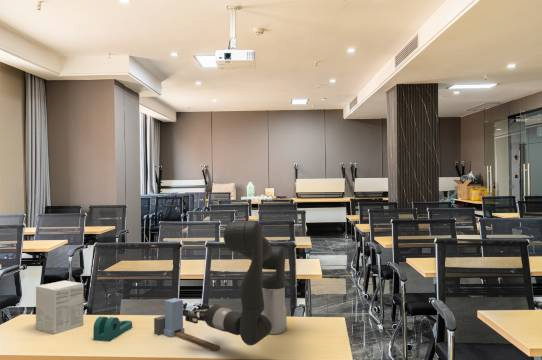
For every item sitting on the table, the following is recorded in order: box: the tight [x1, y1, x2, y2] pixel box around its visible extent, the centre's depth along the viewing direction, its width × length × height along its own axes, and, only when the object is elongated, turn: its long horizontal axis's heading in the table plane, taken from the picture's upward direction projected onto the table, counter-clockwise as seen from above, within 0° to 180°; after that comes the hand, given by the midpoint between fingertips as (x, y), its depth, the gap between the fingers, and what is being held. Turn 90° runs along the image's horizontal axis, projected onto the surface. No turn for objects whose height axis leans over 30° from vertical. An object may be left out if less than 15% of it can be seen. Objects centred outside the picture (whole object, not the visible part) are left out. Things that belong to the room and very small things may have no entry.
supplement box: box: [35, 279, 84, 335], centre depth 171 cm, size 13×13×18 cm
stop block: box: [153, 315, 165, 336], centre depth 164 cm, size 10×3×6 cm, turn 138°
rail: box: [173, 330, 221, 352], centre depth 153 cm, size 2×29×1 cm, turn 48°
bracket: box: [92, 316, 133, 342], centre depth 163 cm, size 18×7×8 cm, turn 168°
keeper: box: [162, 297, 185, 338], centre depth 161 cm, size 6×5×13 cm
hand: (193, 309), depth 154 cm, fingers open, 8 cm apart
